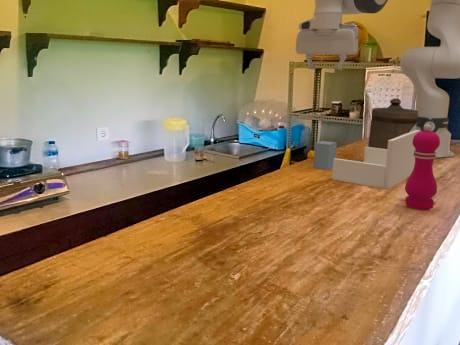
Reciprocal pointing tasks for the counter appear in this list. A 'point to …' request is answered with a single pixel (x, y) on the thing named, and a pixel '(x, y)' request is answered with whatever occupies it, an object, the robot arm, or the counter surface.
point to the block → (324, 155)
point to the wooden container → (390, 123)
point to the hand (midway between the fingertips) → (324, 69)
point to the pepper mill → (423, 170)
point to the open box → (379, 164)
